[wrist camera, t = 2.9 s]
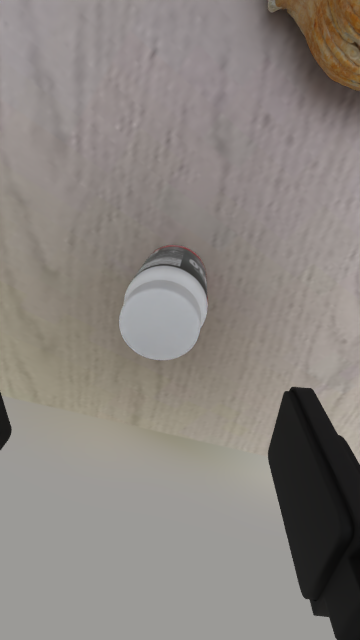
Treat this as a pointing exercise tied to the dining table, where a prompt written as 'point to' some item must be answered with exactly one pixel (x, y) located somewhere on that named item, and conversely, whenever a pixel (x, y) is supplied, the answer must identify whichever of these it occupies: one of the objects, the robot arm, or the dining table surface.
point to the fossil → (329, 35)
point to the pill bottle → (165, 304)
